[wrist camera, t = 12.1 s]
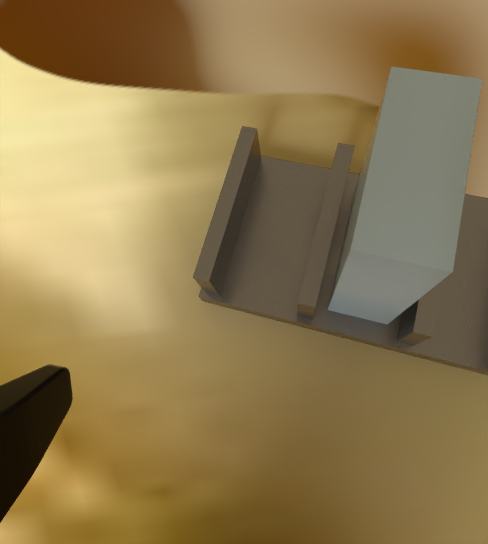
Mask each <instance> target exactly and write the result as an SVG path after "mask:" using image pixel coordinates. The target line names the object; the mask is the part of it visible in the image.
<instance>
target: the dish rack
mask: <svg viewBox="0 0 488 544" xmlns="http://www.w3.org/2000/svg"><path fill="white" fill-rule="evenodd" d="M353 150H354V146H352V145H347V144H341V143H338V146H337V150H336V154H335V158H334V162H333V166H332V169H329V168H323V167H318V166H313V165H307V164H302V163H297V162H291V161H286V160H281V159H275V158H270V157H264V156H261V155H260V147H259V139H258V132H257V129H255V128H250V127H244V126H242V129H241V132H240V135H239V138H238V141H237V144H236V147H235V150H234V153H233V156H232V159H231V162H230V165H229V168H228V171H227V174H226V177H225V181H224V184H223V187H222V190H221V193H220V196H219V199H218V202H217V205H216V208H215V211H214V214H213V217H212V220H211V223H210V226H209V230H208V233H207V236H206V239H205V242H204V245H203V248H202V251H201V254H200V257H199V260H198V263H197V266H196V269H195V272H194V275H193V278H194V279H195V280H196V281H197V283H198V284H199V285H200V286H201V287H202V288H201V291H200V295H199V297H200V298H201V300H202V301H205V302H209V303H213V304H217V305H221V306H224V307H228V308H232V309H236V310H240V311H244V312H247V313H251V314H255V315H259V316H263V317H267V318H270V319H274V320H278V321H282V322H286V323H290V324H294V325H297V326H301V327H305V328H309V329H313V330H317V331H320V332H324V333H328V334H332V335H336V336H340V337H343V338H347V339H351V340H355V341H359V342H363V343H366V344H370V345H374V346H378V347H382V348H386V349H390V350H393V351H397V352H401V353H405V354H409V355H413V356H416V357H420V358H424V359H428V360H432V361H436V362H439V363H443V364H447V365H451V366H455V367H459V368H462V369H466V370H470V371H474V372H478V373H482V374H486V375H488V198H484V197H478V196H472V195H468V194H465V196H464V202H463V209H462V215H461V222H460V228H459V235H458V241H457V248H456V254H455V261H454V267H453V272H452V273H451V274H450V275H448V276H447V277H446V278H445V279H443V280H442V281H441V282H440V283H438V284H437V285H436V286H435V287H433V288H432V289H431V290H430V291H428V292H427V293H426V294H425V295H423V296H422V297H421V298H420V299H418V300H417V301H416V302H415V303H413V304H412V305H411V306H410V307H408V308H407V309H406V310H405V311H403V312H402V313H401V314H400V315H398V316H397V317H396V318H395V319H393V320H392V321H391V322H390V323H388V324H383V323H379V322H375V321H371V320H367V319H363V318H359V317H354V316H350V315H346V314H342V313H338V312H334V311H330V310H328V305H329V301H330V297H331V292H332V288H333V284H334V279H335V275H336V271H337V266H338V262H339V258H340V253H341V249H342V244H343V240H344V236H345V231H346V227H347V223H348V218H349V214H350V210H351V205H352V201H353V197H354V192H355V188H356V185H357V181H358V178H359V175H360V174H355V173H350V172H348V171H349V167H350V163H351V158H352V154H353Z"/></svg>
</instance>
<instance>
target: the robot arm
mask: <svg viewBox="0 0 488 544" xmlns="http://www.w3.org/2000/svg"><path fill="white" fill-rule="evenodd" d="M71 403H72V387H71V379H70V372H69V370H68V369H67V368H66V367H62V366H57V365H53V364H49V365H46V366H44V367H41V368H39V369H37V370H35V371H32V372H30V373H28V374H25V375H23V376H21V377H19V378H16V379H14V380H12V381H10V382H7V383H5V384H3V385H1V386H0V522H1V521H2V520H3V518H4V517H5V515H6V514H7V512H8V511H9V509H10V508H11V506H12V505H13V503H14V502H15V500H16V499H17V497H18V496H19V495H20V493H21V492H22V490H23V489H24V487H25V486H26V484H27V483H28V481H29V480H30V478H31V477H32V475H33V474H34V472H35V470H36V468H37V467H38V465H39V463H40V462H41V460H42V458H43V456H44V454H45V452H46V451H47V449H48V447H49V445H50V443H51V441H52V440H53V438H54V436H55V434H56V432H57V431H58V429H59V427H60V425H61V423H62V421H63V420H64V418H65V416H66V414H67V412H68V410H69V408H70V406H71Z"/></svg>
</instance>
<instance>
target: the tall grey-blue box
mask: <svg viewBox="0 0 488 544" xmlns="http://www.w3.org/2000/svg"><path fill="white" fill-rule="evenodd" d="M481 84H482V79H481V78H474V77H467V76H459V75H452V74H444V73H437V72H429V71H421V70H414V69H406V68H400V67H391V69H390V73H389V76H388V80H387V83H386V86H385V90H384V93H383V97H382V100H381V103H380V107H379V110H378V114H377V117H376V120H375V124H374V127H373V131H372V134H371V137H370V141H369V144H368V148H367V151H366V154H365V158H364V161H363V164H362V168H361V171H360V175H359V178H358V181H357V185H356V188H355V192H354V197H353V201H352V205H351V210H350V214H349V218H348V223H347V227H346V231H345V236H344V240H343V244H342V249H341V253H340V258H339V262H338V266H337V271H336V275H335V279H334V284H333V288H332V292H331V297H330V301H329V305H328V310H330V311H334V312H338V313H342V314H346V315H350V316H354V317H359V318H363V319H367V320H371V321H375V322H379V323H383V324H388V323H390V322H391V321H392V320H393V319H395V318H396V317H397V316H398V315H400V314H401V313H402V312H403V311H405V310H406V309H407V308H408V307H410V306H411V305H412V304H413V303H415V302H416V301H417V300H418V299H420V298H421V297H422V296H423V295H425V294H426V293H427V292H428V291H430V290H431V289H432V288H433V287H435V286H436V285H437V284H438V283H440V282H441V281H442V280H443V279H445V278H446V277H447V276H448V275H450V274H451V273H452V272H453V267H454V261H455V254H456V248H457V241H458V235H459V228H460V222H461V215H462V209H463V202H464V196H465V189H466V182H467V176H468V169H469V163H470V156H471V149H472V143H473V137H474V130H475V123H476V117H477V111H478V104H479V98H480V91H481Z"/></svg>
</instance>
